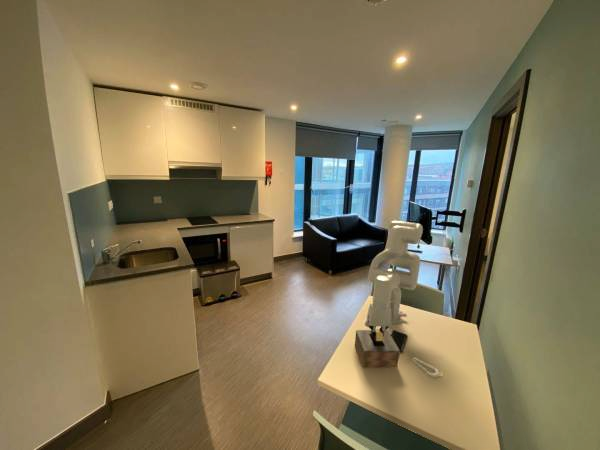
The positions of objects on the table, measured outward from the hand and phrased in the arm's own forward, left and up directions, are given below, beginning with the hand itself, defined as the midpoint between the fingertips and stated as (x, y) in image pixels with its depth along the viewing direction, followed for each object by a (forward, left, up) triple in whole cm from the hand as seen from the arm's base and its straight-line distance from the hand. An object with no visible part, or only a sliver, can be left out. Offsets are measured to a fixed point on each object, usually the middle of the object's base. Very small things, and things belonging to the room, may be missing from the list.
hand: (377, 337), depth 113 cm
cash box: (0, 0, -10) cm, 10 cm away
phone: (-16, -10, -11) cm, 22 cm away
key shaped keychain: (-21, +7, -11) cm, 25 cm away
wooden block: (0, +1, 0) cm, 1 cm away
